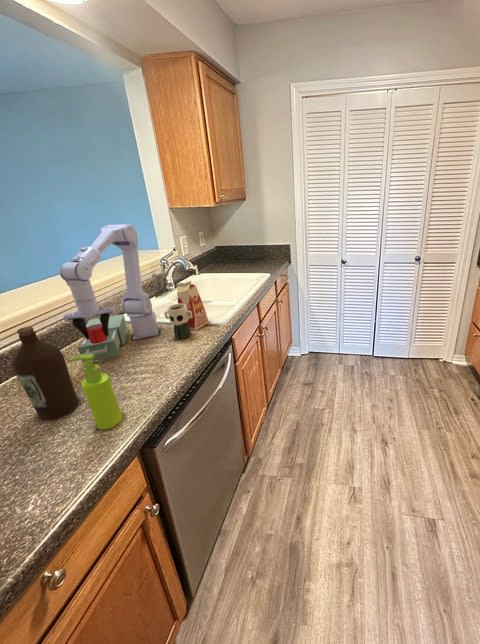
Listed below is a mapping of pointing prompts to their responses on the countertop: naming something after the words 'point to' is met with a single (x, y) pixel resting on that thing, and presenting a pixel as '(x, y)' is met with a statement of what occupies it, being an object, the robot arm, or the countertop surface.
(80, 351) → the drawer
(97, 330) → the red cube
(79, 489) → the countertop surface
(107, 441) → the countertop surface
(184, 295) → the milk carton
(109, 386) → the soap dispenser
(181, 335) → the character mug
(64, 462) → the countertop surface
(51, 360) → the olive oil
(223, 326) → the countertop surface
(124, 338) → the green box
